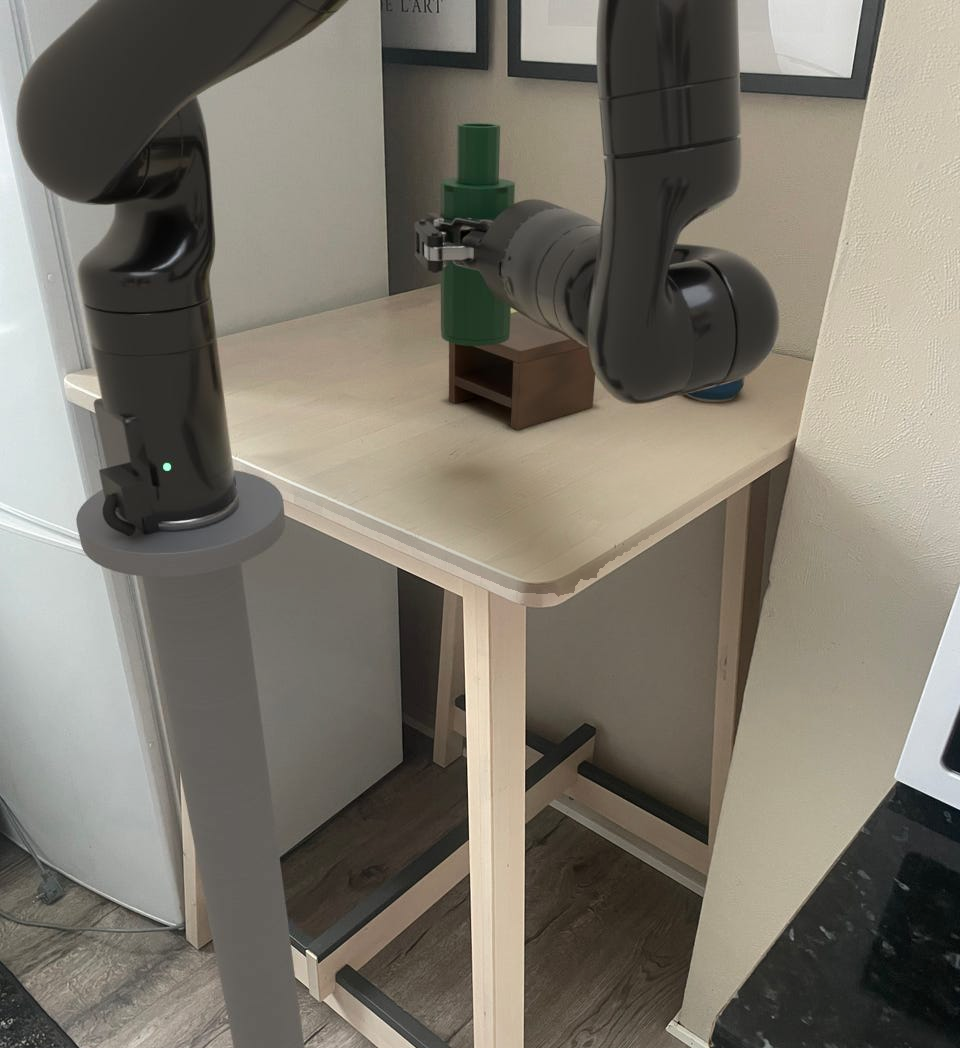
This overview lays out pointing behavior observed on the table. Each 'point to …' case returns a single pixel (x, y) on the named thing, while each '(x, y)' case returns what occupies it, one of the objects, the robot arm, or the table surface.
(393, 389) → the table surface
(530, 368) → the shelf
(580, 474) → the table surface
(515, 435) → the table surface
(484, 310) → the bottle
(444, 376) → the table surface
